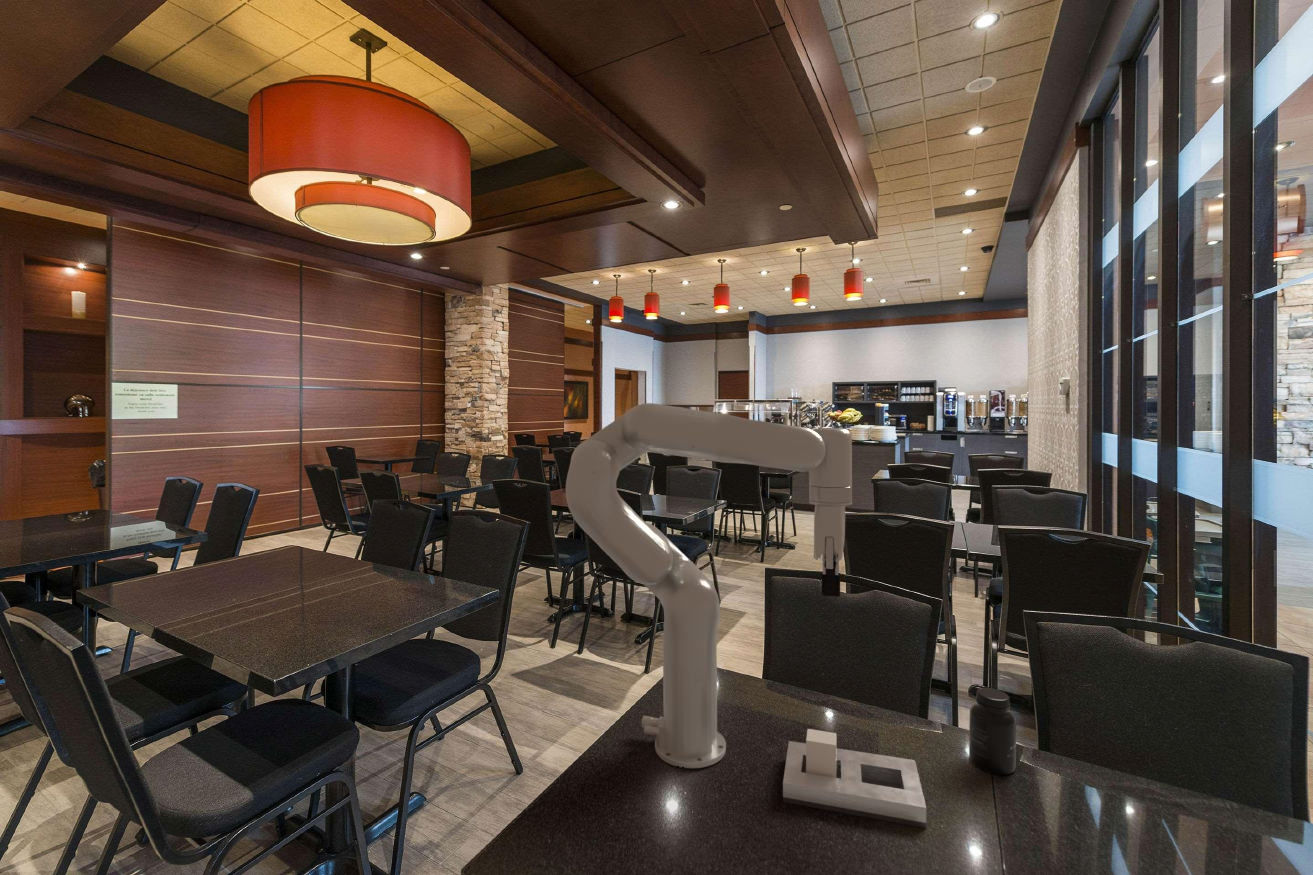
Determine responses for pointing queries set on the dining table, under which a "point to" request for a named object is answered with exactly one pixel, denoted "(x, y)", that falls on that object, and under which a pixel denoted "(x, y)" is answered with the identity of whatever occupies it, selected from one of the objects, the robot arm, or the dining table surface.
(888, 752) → the dining table surface
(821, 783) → the socket board
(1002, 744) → the supplement bottle
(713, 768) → the dining table surface
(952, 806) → the dining table surface
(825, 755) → the plug
